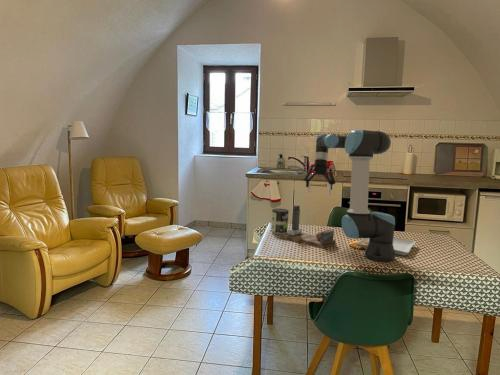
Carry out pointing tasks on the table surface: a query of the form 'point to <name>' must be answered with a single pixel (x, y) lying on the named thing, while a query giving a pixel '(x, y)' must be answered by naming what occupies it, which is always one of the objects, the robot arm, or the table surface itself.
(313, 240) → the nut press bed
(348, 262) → the table surface
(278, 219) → the coffee can
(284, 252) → the table surface
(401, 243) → the square plate
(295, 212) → the press carriage
